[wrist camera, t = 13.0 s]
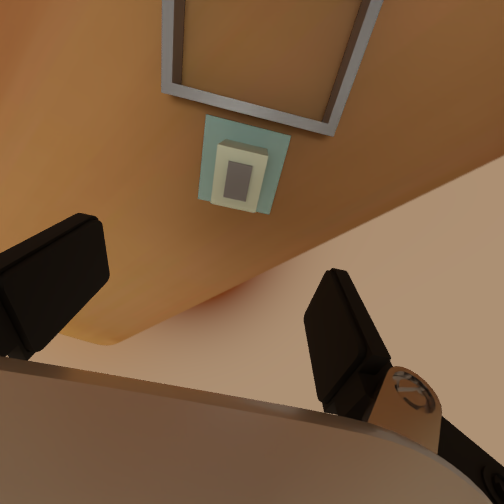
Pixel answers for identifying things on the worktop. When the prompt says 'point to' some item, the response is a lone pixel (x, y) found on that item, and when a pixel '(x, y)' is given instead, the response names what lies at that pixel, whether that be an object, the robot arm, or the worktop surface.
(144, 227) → the worktop surface
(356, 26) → the grey open box
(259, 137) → the mat
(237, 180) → the block
